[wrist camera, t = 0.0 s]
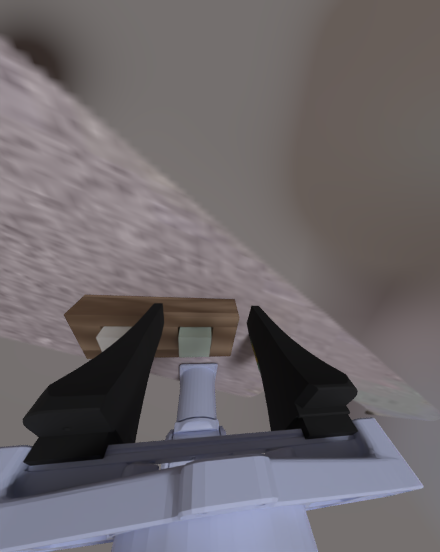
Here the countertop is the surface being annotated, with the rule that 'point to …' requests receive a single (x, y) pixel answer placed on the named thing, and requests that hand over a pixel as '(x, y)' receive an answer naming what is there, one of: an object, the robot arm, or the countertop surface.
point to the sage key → (194, 341)
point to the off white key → (110, 336)
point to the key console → (177, 313)
